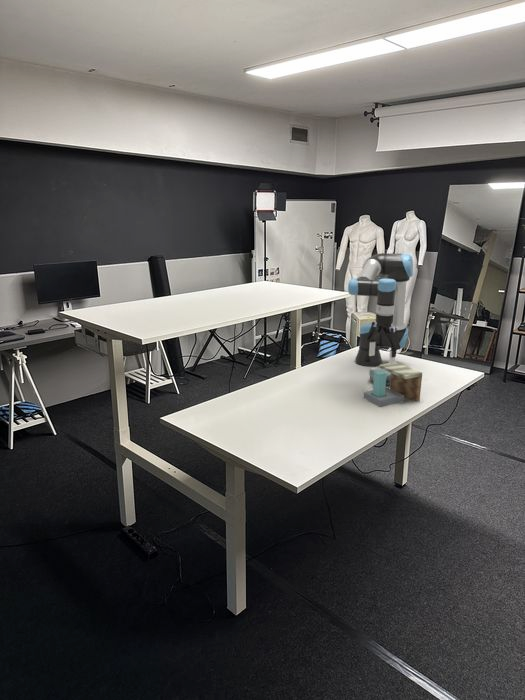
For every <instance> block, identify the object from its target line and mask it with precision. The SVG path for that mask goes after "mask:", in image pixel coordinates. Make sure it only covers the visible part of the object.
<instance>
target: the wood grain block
mask: <svg viewBox="0 0 525 700" xmlns="http://www.w3.org/2000/svg"><path fill="white" fill-rule="evenodd" d="M378 367H379V368H381V369H383V370H385V371H388V372H390V373H391V383H390V385H389V388H390V389H392V390H394V391H396V392H398V393H400V394H402V395H404V398H408V399H410V400H412V401H414V402H420V399H421V389H422V380H423V372H422V371H419V370H417V369H414V368H412V367H409V366H407V365H404V364H401V363H399V362H396V361H395V363H394V364H389V362H387V363H383V364H382V363H381V365H378Z"/></svg>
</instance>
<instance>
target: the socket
mask: <svg viewBox="0 0 525 700" xmlns="http://www.w3.org/2000/svg"><path fill="white" fill-rule="evenodd" d="M363 399H365V400H367V401H368V402H371V403H372V404H374V405H375V406H378V407H379V408H380V407H385V406H389V405H393V404H399V403H404V402H405V401H404V400H405V396H404V395H402V394H400V393H398V392H396V391H394V390H392V389H390V387H387V386H386V388H385V396H384V397H380V398H378V397H376V396H374V395H373V389H372V390H367V391H364V392H363Z"/></svg>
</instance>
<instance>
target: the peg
mask: <svg viewBox="0 0 525 700" xmlns="http://www.w3.org/2000/svg"><path fill="white" fill-rule="evenodd" d="M386 375H387V373H385V372H383V371H377V372H374V380H373V381H372V390H373V395H374V396H376V397H378V398H380V397H384V396H385V388H386V387H387V385H386Z"/></svg>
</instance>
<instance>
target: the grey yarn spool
mask: <svg viewBox="0 0 525 700" xmlns="http://www.w3.org/2000/svg"><path fill="white" fill-rule="evenodd" d="M377 371H383V372H385V373H387V375H386V386H390V383H391V373H390V372H388V371H385V370H383V369H381V368H379V366H372V367H371V368H370V369H369V372H368V374H369V379H370V380H371V381H372V382H373V380H374V372H377Z"/></svg>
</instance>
